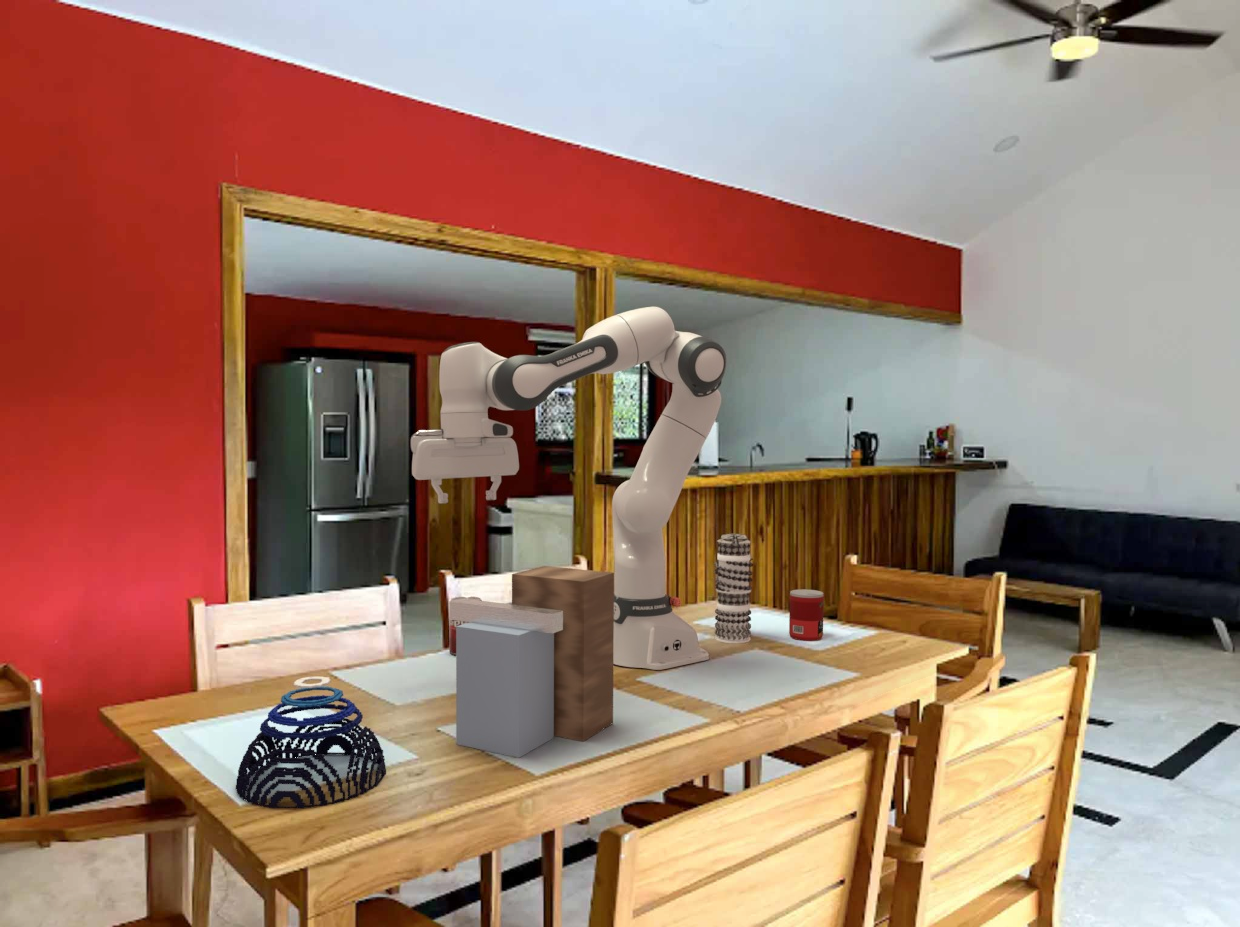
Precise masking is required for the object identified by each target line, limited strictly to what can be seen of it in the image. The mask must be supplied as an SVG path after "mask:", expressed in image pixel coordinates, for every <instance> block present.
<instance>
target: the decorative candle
mask: <svg viewBox="0 0 1240 927" xmlns="http://www.w3.org/2000/svg"><path fill="white" fill-rule="evenodd" d="M716 542H718V545H717V547H718V548H717V561H716V562H714V568H715V569H714V574H716V577H715V579H714V581H715V584H714V588H715V591H716V592H717V600H716V608H715V610H714V612H715V614H716V615H715V617H714V618H715V619H714V620H716V622H715V623H714V627H715V630H714V634H715V636H714V637H715V638H714V640H716V641H717V642H720V643H725V644H737V645H738V644H745V643H749V642H751V637H750V636H751V635H752V633H751V632H752V631H751V628H752V624H751V623H750V622H751V621H752V617H751V616H750V615H751V614H752V610H750V609H751V604H750V593H751V592H752V589H753V588H752V586H750V583H751V582H753V578H752V577H751V576H752V575H753V574H754V573H753V571H751V570H750V569H751V568H752V567H754V563H752V561H753V560H754V559H753V558H752V557H751V552H750V551H751V550H750V549H751V543H752V541H751V540H749V538H748V536H747V535H746V534H742V533H724V534H721V537H720V538H719V539H718V540H716Z"/></svg>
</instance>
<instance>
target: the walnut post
mask: <svg viewBox="0 0 1240 927" xmlns="http://www.w3.org/2000/svg"><path fill="white" fill-rule="evenodd" d="M614 584H615V572H610V571H601V570H590V569H582V568H580V569H579V568H570V567H569V568H568V567H560V566H549V565H543V566H540V567H536V568H535V567H534V568H530V569H527V570H523V571H519V572H514V573H512V574H511V604H512V605H520V606H528V607H537V608H545V609H553V610H561V611H563V630H561V631H558V632H556V633H554V737H560V738H564V739H570V740H573V741H578V742H586V741H587V740H588V739H590V738H592V737H593V736H595V735H596V733H597V734H598V733H599V732H598V731H600V732H601V730H602V729H603V728H605V727H606V728H608V727H609V725H610V724H611V723H613V724H614V664H613V645H614ZM611 725H612V724H611ZM611 725H610V726H611ZM607 726H608V727H607ZM606 728H605V729H606ZM603 730H604V729H603ZM603 730H602V731H603ZM594 734H595V735H594ZM591 736H592V737H591ZM589 737H590V738H589ZM586 739H587V740H586Z"/></svg>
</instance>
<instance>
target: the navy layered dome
mask: <svg viewBox="0 0 1240 927" xmlns="http://www.w3.org/2000/svg"><path fill="white" fill-rule="evenodd" d="M310 681H317V683H307V682H310ZM318 681H320V682H318ZM330 683H332V680H331V677H329V676H327V677H325V676H305V677H301V678H299V679H296V680H295V681H294V682H293V684H292V686H293V687H295V688H298V689H295V690H289V691H288V692H287V693H285V694H283V695H282V696H281V698H280V703H278V704H277V705H276V706H274V707H273V708H272V709H271V710H270V711H269V712H268V713H267V718H266V719H264V720H263V721H262V722H261V724H260V727H259V731H260V732H259V733H258V734H257V735H256V736H255V739H253V740H252V741H251V743H249V745H248V747H247V750H246V751H245V753H244V754H243V757H242V760H241V762H240V764H239V767H238V770H237V773H238V774H237V778H236V784H235V790H236V789H237V790H236V793H238V794H239V798H242V800H243V801H246V800H247V801H246V802H247V803H250V804H252V805H255V806H260V807H263V808H266V807H267V808H268V809H307V808H308V809H309V808H310V809H311V808H314V807H323V806H328V805H335V804H338V803H340V802H346V801H349V800H350V799H355V798H358V797H359V795H364V794H367V793H368V791H371V790H374V788H377V787H378V786H379V784H380V783H381V781H382V780H383V778H384V777H385V775H387V769H386V762H385V760H386V759H385V755H384V749H382V747H381V743H380V741H379V740H378V738H377V737H376V734H375V731H372V730H371V728H370V727H369V728H368V726H364V727H361V725H360V724H361V723H362V720H363V718H364V717H363V716H364V715H363V714H362V711H360V709H359V708H358V706H356V704H355V703H354V702H352V701H351V700H350V699H347V697H343V696H344V692H343V690H341V689H340V688H336V687H335V688H334V687H332V686H329V684H330ZM327 685H328V686H327ZM310 691H312V692H313V691H328V692H330V691H331V692H332V693H333V694H332V695H324V694H322V695H310V696H304V697H298V698H291V697H292V695H296V694H299V693H303V692H310ZM335 702H338V703H343V704H346V705H343V704H337V705H336V703H335ZM333 703H335V704H333ZM288 706H292V707H291V708H284V707H288ZM282 708H284V709H282ZM281 709H282V710H281ZM322 709H323V710H328V709H331V710H340V711H336V713H330V714H326V715H316V716H313V717H304V718H302V720H300V719H299V720H298V718H297V717H291V716H286V715H288V714H294V713H297V712H303V711H312V710H313V711H314V710H322ZM278 710H280V711H278ZM353 714H354V715H356V717H355V718H354V719H349V718H348V717H351V716H352V715H353ZM269 722H271V723H273V724H276V725H282V726H287V727H297V728H296V729H295V731H293V732H284V731H283V730H279V729H278V728H276V726H270V725H269ZM326 725H329V726H326ZM340 725H341V726H340ZM308 726H309V727H308ZM306 728H307V729H306ZM316 728H317V729H316ZM303 730H304V732H302V731H303ZM313 730H314V731H313ZM343 735H344V736H343ZM287 739H288V740H287ZM348 739H349V740H348ZM284 740H287V741H286V742H284ZM296 740H297V743H295V744H294V742H295V741H296ZM317 742H319V743H317ZM284 743H285V744H284ZM309 743H310V745H309ZM315 743H316V746H315ZM292 745H295V746H292ZM301 745H303V746H301ZM307 745H308V749H306V748H307ZM333 746H338V747H339V748H340V749H341V750H342V751H344V752H333V751H332V752H330V749H331V750H332V748H333ZM257 747H260V748H261V750H263V751H260V749H259V748H257ZM283 747H284V748H283ZM313 747H316V748H315V749H316V751H315V749H313ZM355 751H356V752H355ZM262 752H263V753H264V754H263V755H262ZM254 754H255V755H256V756H255V755H254ZM315 754H316V755H315ZM322 754H324V755H322ZM336 754H342V755H343V754H344V755H343V756H349V759H348V760H349V761H348V765H347V771H346V778H345V784H347V789H346V791H345V789H343V785H344V781H342V778H341V777H340V774H339V773H338V770H337V769H336V767H334V766H333V765H332V764H331V763H330V761H329V762H328V760H326V758H325V756H327V755H336ZM283 755H285V756H283ZM310 755H311V757H310ZM302 756H306V757H302ZM257 757H258V758H257ZM295 757H296V758H295ZM297 757H298V758H297ZM311 758H312V759H311ZM361 758H363V760H362V763H361V767H359V766H360V761H361ZM355 759H356V760H355ZM313 760H316V761H317V762H320V763H321V764H323V767H321V768H318V763H317V764H315V763H314V762H313ZM369 761H370V762H371V766H370V767H368V765H369V764H368V763H369ZM264 763H265V765H264ZM278 764H292V765H293V764H295V765H296V764H298V765H301V764H303V766H305V767H285V766H284V767H283V766H278V767H277V765H278ZM375 765H377V768H376V770H375V777H374V783H373V785H372V780H373V771H374V769H375ZM273 766H274V768H272V770H270V768H271V767H273ZM354 767H355V768H354ZM305 768H310V769H305ZM324 768H325V769H327V770H329V774H331V776H333V778H335V784H337V787H338V788H339V793H340V794H342V797H340V798H338V799H336V798H335V797H336V796H335V795H336V794H335V793H336V785H334V781H332V780H331V779H330V776H329V775H328V773H326V771H324ZM268 770H270V772H269V773H267V774H266V775H265V777H263V778H262V779H261V781H259V783H257V781H258V780H259V777H260V776H264V774H265V772H268ZM309 770H310V771H309ZM255 771H256V772H255ZM311 771H313V772H314V773H315V774H317V776H319V777H321V782H324V783H325V786H326V787H327V792H329V797H330V798H331V801H329V802H328V799H326V793H324V789H322V786H321V785H320V784H319V783H318V782H316V780H314V777H313V773H311ZM358 771H360V776H359V780H357V779H358V778H357V777H358ZM367 771H369V772H367ZM350 774H351V779H350ZM286 776H292V777H291V778H292V779H289V778H287V779H285V777H286ZM251 778H252V780H251ZM276 778H281V779H277V780H276V781H275V782H273V781H274V780H275V779H276ZM282 778H283V779H282ZM293 778H297V779H301V780H302V781H303V780H304V781H303V782H304V783H301V781H297V779H293ZM351 781H352V782H353V783H352V784H353V785H352V786H353V787H354V788H355V793H353V794H351ZM270 782H272V783H271V784H270V785H269V786H268V787H267V788H266V789H265V790H264V791H262V790H263V789H264V788H265V787H266V786H267V785H268V784H269V783H270ZM305 783H307V784H308V785H309V786H310V787H311V788H312V789H313V791H311V789H309V787H307V785H305ZM367 784H368V787H366V785H367ZM255 785H256V787H255V790H254V791H253V789H254V788H253V787H254V786H255ZM279 785H295V787H299V789H301V791H305V792H304V793H305V795H307V799H309V805H307V804H306V803H305V802H304V799H303V798H302V796H301V794H299V792H296V791H295V790H276V791H275V792H274V793H273V794H272V796H270V799H269V801H270V802H268V796H269V795H270V794H271V793H272V791H274V790H275V788H278V786H279ZM251 791H253V792H251ZM359 791H360V792H359ZM346 792H347V798H346ZM262 793H263V794H262ZM238 794H237V795H238ZM313 794H314V795H313ZM315 796H317V801H318V802H319V803H318V804H315ZM284 798H287V799H288V798H289V799H290V800H291V802H293V803H294V806H281V805H280V806H279V805H278V804H279V803H280V802H282V800H284ZM244 799H245V800H244ZM258 803H259V804H258ZM267 803H268V804H267Z"/></svg>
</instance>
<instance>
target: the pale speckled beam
mask: <svg viewBox="0 0 1240 927" xmlns="http://www.w3.org/2000/svg"><path fill="white" fill-rule="evenodd" d="M448 603H449V604H448V610H449V612H448V614H449V615H448V619H450V620H457V621H465V622H472V623H479V624H486V625H494V626H501V627H508V628H515V629H523V630H530V631H537V632H545V633H552V634H553V633H556V632H558V631H561V630H563V611H561V610H553V609H545V608H537V607H528V606H520V605H512V603H503V602H494V601H488V600H486V601H485V600H482V601H480V600H471V599H463V598H460V599H456V600H452V601H451V600H449V602H448Z"/></svg>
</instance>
